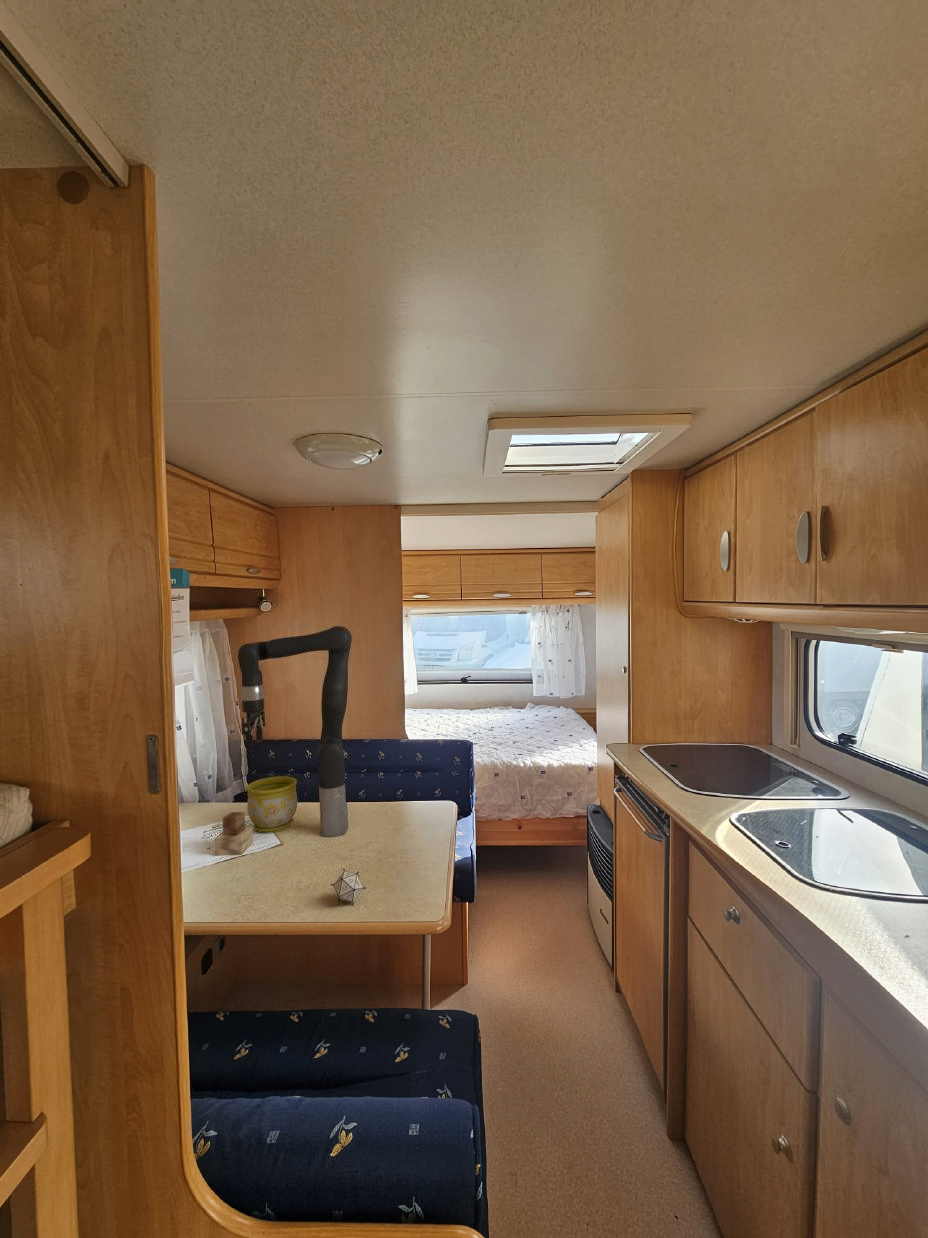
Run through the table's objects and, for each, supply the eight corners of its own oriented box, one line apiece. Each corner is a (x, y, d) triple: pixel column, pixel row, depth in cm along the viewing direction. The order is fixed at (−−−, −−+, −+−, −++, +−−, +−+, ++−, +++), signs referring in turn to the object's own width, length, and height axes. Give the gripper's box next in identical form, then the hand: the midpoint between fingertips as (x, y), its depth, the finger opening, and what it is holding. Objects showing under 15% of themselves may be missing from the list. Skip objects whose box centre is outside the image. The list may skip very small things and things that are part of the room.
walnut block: (245, 829, 181) (244, 812, 181) (236, 835, 176) (236, 818, 176) (232, 829, 182) (231, 812, 182) (223, 835, 177) (222, 817, 177)
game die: (344, 912, 144) (334, 875, 149) (372, 899, 145) (362, 862, 150) (332, 912, 136) (323, 873, 141) (362, 898, 137) (352, 860, 142)
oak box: (253, 843, 183) (252, 826, 183) (241, 855, 174) (241, 837, 174) (227, 844, 183) (227, 827, 183) (215, 856, 174) (214, 838, 174)
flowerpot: (280, 814, 210) (278, 773, 210) (308, 823, 200) (306, 780, 200) (238, 830, 196) (236, 786, 196) (266, 840, 185) (264, 794, 185)
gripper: (254, 700, 181) (256, 747, 182) (270, 694, 196) (272, 737, 196) (233, 701, 182) (235, 748, 182) (251, 695, 196) (252, 738, 196)
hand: (254, 742), depth 189 cm, fingers open, 8 cm apart
